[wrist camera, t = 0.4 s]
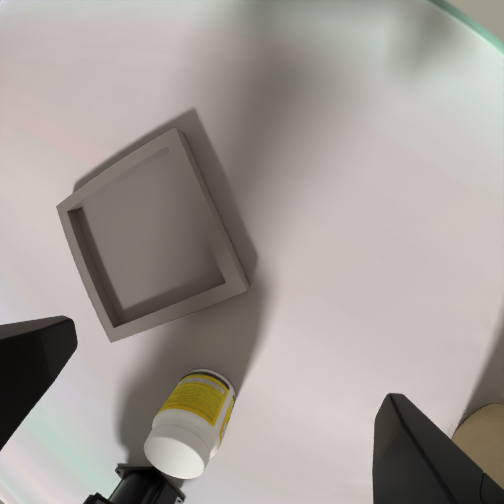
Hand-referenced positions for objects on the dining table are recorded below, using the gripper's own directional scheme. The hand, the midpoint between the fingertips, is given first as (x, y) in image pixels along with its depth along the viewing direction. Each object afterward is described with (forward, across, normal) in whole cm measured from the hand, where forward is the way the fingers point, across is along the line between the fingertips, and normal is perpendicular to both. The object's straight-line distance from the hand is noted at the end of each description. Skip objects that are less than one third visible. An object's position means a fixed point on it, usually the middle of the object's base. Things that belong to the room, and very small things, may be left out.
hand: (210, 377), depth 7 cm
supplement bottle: (+12, +4, +12) cm, 18 cm away
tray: (+14, +10, +1) cm, 17 cm away
